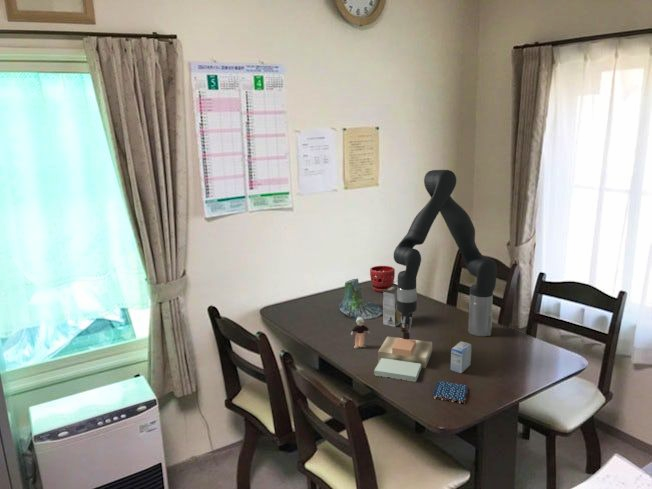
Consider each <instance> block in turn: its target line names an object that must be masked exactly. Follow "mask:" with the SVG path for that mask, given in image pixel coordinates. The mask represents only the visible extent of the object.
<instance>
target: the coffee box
mask: <svg viewBox="0 0 652 489" xmlns="http://www.w3.org/2000/svg"><path fill="white" fill-rule="evenodd" d="M397 288H398V285H395V284H394V285H393V284H392V286H391V287H389V288H387V289H385V290H383V292H382V310H383V313H382V317H383V318H382V321H383V322H382V324H383V325H385V326H390V327H393V328H396V327H397V326H400V323H401V315H402V313H401V312H399V311H398V310H397Z"/></svg>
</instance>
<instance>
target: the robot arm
mask: <svg viewBox="0 0 652 489" xmlns="http://www.w3.org/2000/svg"><path fill="white" fill-rule="evenodd" d="M423 182H424V184H423V185H424V188H425V190H426V192H427V193H428V195H429V196H430V200H428V202H427V203H426V204H425V205H424V207H423V208H422V209H421V210H420V211H419V212H418V213H417V214H416V216H415V217H414V218H413V221H412V222H411V224H410V227H409V229H408V231H407V233H406V235H405V236H404V237H403V238H402V239H401V241H400V242H399V243H398V244H397V246H396V247H395V249H394V251H393V261H394V262H395V263H396V264H398V265H402V266H404V267H405V270H401V271H399V272H398V273H397V286H398V288H397V310H398V311H399V312H401V313H402V315H401V323H400V324H399V328H400V331H401V333H403V335H402V338H403V339H408V340H409V339H410V338H411V336H410V335H411V333H410V332H411V328H412V324H413V316H414V312H417V310H418V306H417V305H418V292H417V291H418V290H417V277H418V272H419V270H420V266H421V262H422V255H421V253H420V251H419V249H416V248H415V246H419V245H423V244H425V241H426V239H427V237H428V234H429V232H430V230H431V228H432V226H433V224H434V221H435V220H436V218H437V216H438V215H439V214H441V217H442V218H443V221H444V222H445V224H446V226H447V228H448V231H449V232H450V234H451V236H452V238H453V241H455V244H456V246H457V248H458V250H459V252H460V253H461V256H462V259H463V262H464V264H465V267H466V270H467V271H468V273H469V274H470V275H472V276H474V277H475V278H476V284H472V285H470V286H469V287H470V288H469V302H468V304H469V306H468V326H467V329H468V330H467V332H468V333H469V334H470V335H473V336H476V337H487V336H488V337H491V335H492V324H493V300H494V299H493V298H494V291H495V288H496V283H497V274H498V273H497V272H498V266H497V263H496V261H495V260H494V259H493V258H490V257H487V256H485V255H483V254H482V253H481V252H480V250H479V248H478V247H477V244H476V242H475V240H476V229H475V226H474V223H473V222H472V220H471V217H470V216H469V214H468V212H466V210H465V209H464V208H463V207H462V206H460V204H458V203H457V202H456V201H455V200H454V199H453V197H452V196H451V195H452V193H453V191H454V190H455V188H456V186H457V176H456V174H455V172H453V171H452V170H450V169H431V170H429V171H427V172H426V173H425V175H424V177H423Z"/></svg>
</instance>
